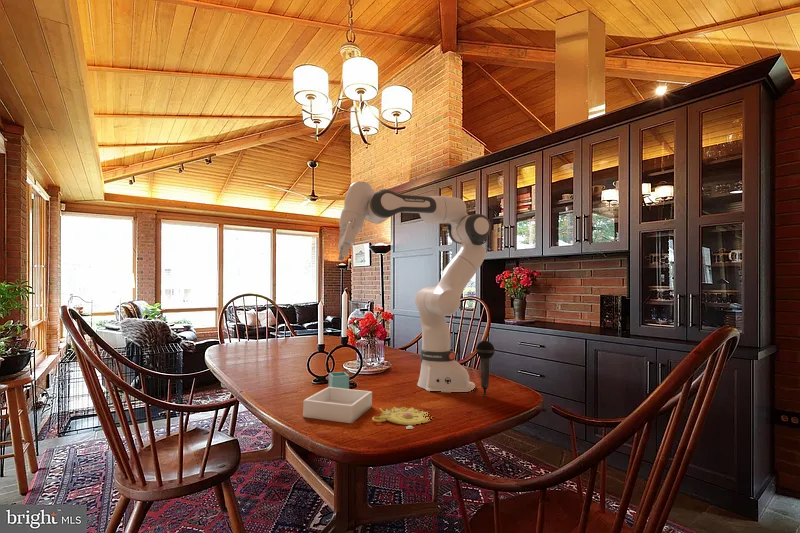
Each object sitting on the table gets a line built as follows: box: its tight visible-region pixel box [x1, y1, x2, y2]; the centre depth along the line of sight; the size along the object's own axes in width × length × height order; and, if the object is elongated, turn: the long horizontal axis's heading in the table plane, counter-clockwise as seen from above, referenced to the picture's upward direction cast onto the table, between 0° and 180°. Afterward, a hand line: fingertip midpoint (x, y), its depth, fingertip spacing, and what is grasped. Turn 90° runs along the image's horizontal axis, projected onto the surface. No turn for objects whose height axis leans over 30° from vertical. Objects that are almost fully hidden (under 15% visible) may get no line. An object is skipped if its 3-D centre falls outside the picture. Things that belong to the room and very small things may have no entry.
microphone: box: [475, 340, 496, 395], centre depth 146 cm, size 7×7×20 cm
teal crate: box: [328, 371, 350, 389], centre depth 145 cm, size 6×6×8 cm
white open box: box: [302, 386, 373, 424], centre depth 127 cm, size 16×16×5 cm
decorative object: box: [371, 406, 433, 430], centre depth 123 cm, size 21×2×20 cm
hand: (342, 258), depth 147 cm, fingers open, 8 cm apart
